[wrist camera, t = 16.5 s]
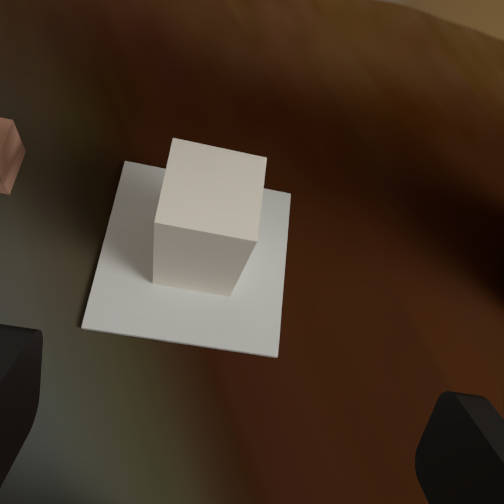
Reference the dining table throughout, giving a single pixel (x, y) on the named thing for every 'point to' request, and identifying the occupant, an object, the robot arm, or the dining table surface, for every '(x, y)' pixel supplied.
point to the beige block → (207, 217)
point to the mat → (180, 300)
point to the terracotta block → (9, 154)
